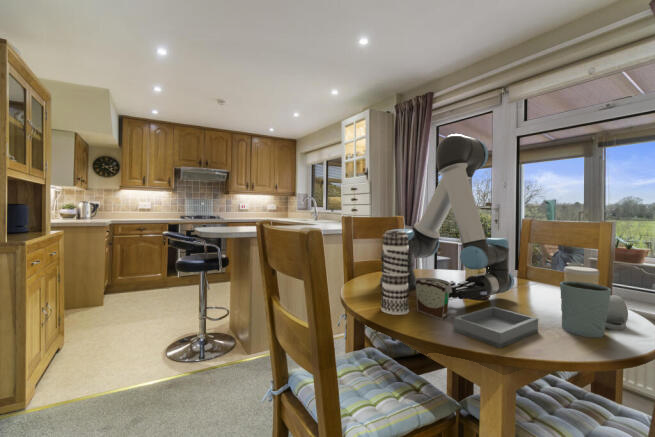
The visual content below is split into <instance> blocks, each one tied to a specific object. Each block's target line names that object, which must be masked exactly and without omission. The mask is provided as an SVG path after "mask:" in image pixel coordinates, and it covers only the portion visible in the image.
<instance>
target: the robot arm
mask: <svg viewBox="0 0 655 437" xmlns="http://www.w3.org/2000/svg"><path fill="white" fill-rule="evenodd" d="M435 159H436V160H435V162H436V166H437V170H438V175H441V178H440V180H439V181H438V182H439V183H438V185H437V186H436V188H435V190H434V192H433V195H432V196H431V199H429V200H430V201H429V203H428V204H427V207H425V208H426V209H425V211H424V212H423V214H422V216H421V219H420V220H419V221H418V222H416V223H414V224H413V226H412V228H399V229H398V228H395V229H394V230H402V231H405V232H406V234H407V235H408V245H409V249H411V250H409V251H408V252H409V253H411V255H409V256H408V259H410V262H407V264H410V267H408V268H407V269H408V271H410V272H409V275H408V289H409V291H411V290H416V285H414V281H415V278H417V277H416V273H415V269H414V260H415V259H416V260H417V259H426V258H429V257H432V256H434V255H435V254H436V253H437V252H438V250H439V247H440V237H441V234H440V231H439V230H440V229H441V227H442V225H443V224H444V221H445V220H446V218H447V216H448V214H449V213H450V210H451V209H452V212H453V216H454V220H455V224H456V227H457V230H458V233H459V238H460V242H461V246H462V250H461V252H460V253H459V254H460V255H459V260H460V263H461V265H463V267H465V268H466V269H468V270H474V271H475V270H482V269H485V268H486V273H485V272H484V273H479V274H474V275H469V276H468V277H467V278H466V279H465V280H463V281H462V282H458V283H456V282H455V281H454V280H450V281H449V283H450V285H451V289H452V292H450V293H449V299H451V298H452V299H457V298H458V300H465V299H466V300H467V299H477V300H478V299H482V298H487V297H488V296H489V297H490V296H494V295H498V294H504V293H506V292H508V291H510V290H512V289H513V287H514V285H515V278H514V276H513V275H512V273H511V272H510V270H509V268H510V266H509V265H510V264H509V261H510V260H509V259H510V253H509V252H510V245H509V240H508V239H507V238H503V237H486V233H485V231H484V227H483V224H482V221H481V218H480V214H479V210H478V208H477V204H476V201H475V200H476V199H475V198H474V197H475V196H474V193H473V189H472V186H471V184H470V179H472V178H473V176H474V174H475V173H476V171H478V170H480V169H481V168H483V167H484V166H485V164H486V163H487V161H488V159H489V150H488V147H487V146H486V144H485V143H484V142H482V141H481V140H479V139H477V138H474V137H471V136H466V135H463V134H458V133H455V134H450V135H447V136H445V137H444V138H443V139H442V140H441V141H440V142H439V144H438V146H437V148H436V152H435ZM488 267H489V269H488ZM488 272H489V273H488ZM382 282H383V274H382V273H381V277H380V279H379V285H382Z"/></svg>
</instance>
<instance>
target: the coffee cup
mask: <svg viewBox="0 0 655 437" xmlns="http://www.w3.org/2000/svg"><path fill="white" fill-rule="evenodd" d="M563 271H564V274H563V277H564V281H574V282H584V283H591V284H596V285H599V278H600V274H601V273H600V271H599V269H598V268H593V267H587V266H577V265H575V266H572V265H571V266H570V265H569V266H565V267H564V268H563Z"/></svg>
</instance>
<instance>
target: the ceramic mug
mask: <svg viewBox="0 0 655 437" xmlns="http://www.w3.org/2000/svg"><path fill="white" fill-rule="evenodd" d="M628 311H629V310H628V306H627V304H626V303H625V301H624V299H623V298H622V297H621V296H619V295H616V294H615V295H614V294H613V295H610V301H609V306H608V308H607V312H608V313H607V319H606V322H605V324H606V325H605V329H609V330H615V331H622V330H624V329H625V328H626V325H627V321H628V318H629V312H628Z"/></svg>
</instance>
